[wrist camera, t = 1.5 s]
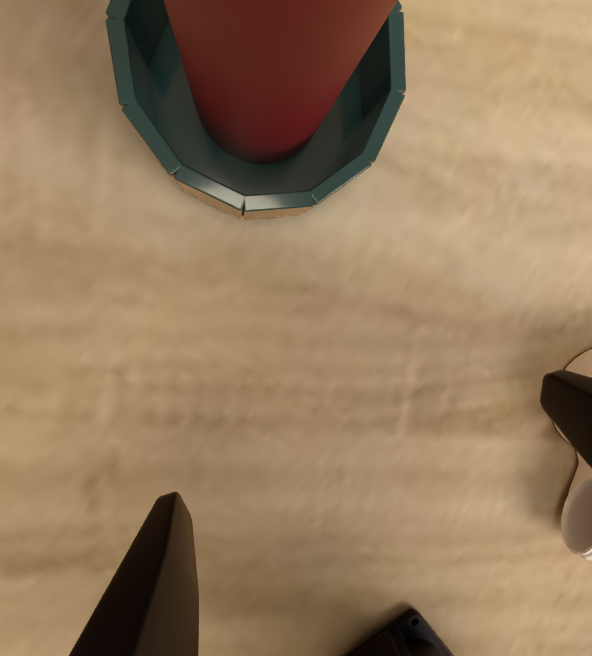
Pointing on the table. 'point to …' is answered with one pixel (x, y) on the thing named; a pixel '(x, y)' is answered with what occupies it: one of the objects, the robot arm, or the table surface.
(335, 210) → the table surface
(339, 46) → the candle
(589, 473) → the knuckle duster
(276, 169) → the shallow bowl
